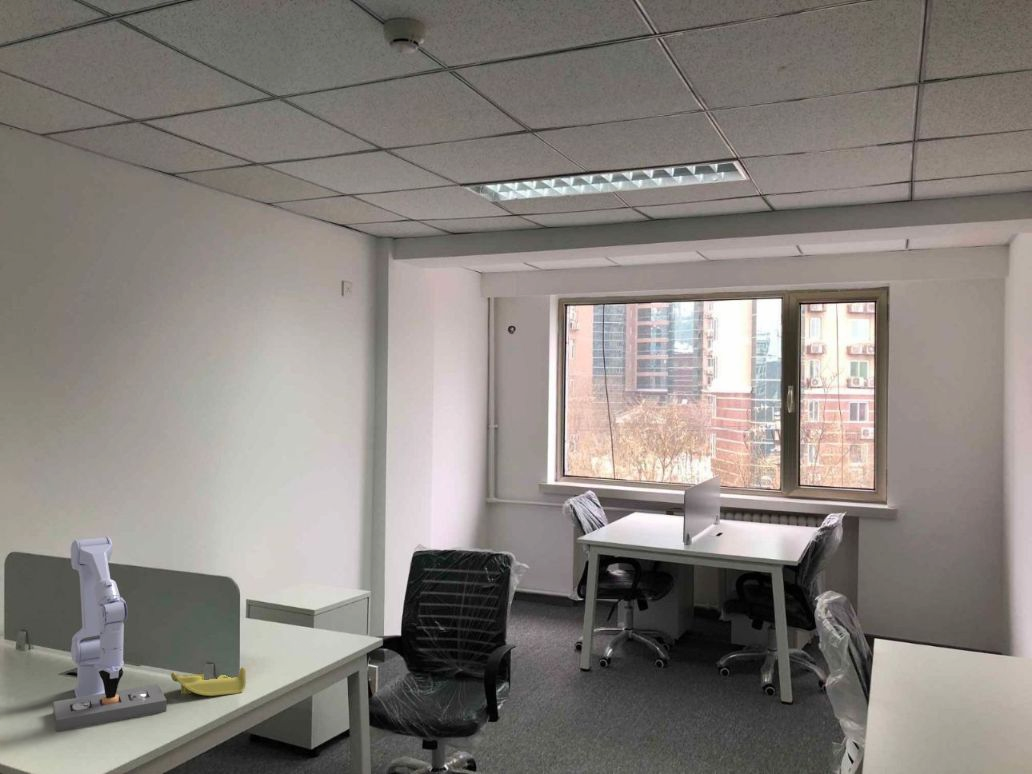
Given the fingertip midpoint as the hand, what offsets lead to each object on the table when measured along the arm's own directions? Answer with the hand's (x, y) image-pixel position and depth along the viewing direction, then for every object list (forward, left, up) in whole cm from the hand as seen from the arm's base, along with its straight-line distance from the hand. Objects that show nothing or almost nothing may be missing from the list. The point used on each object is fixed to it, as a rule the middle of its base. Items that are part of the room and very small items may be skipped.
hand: (110, 697), depth 216 cm
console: (0, 0, -4) cm, 4 cm away
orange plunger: (0, 0, -2) cm, 2 cm away
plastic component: (-3, +26, -4) cm, 27 cm away
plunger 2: (0, +7, -3) cm, 8 cm away
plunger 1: (0, -7, -3) cm, 8 cm away
